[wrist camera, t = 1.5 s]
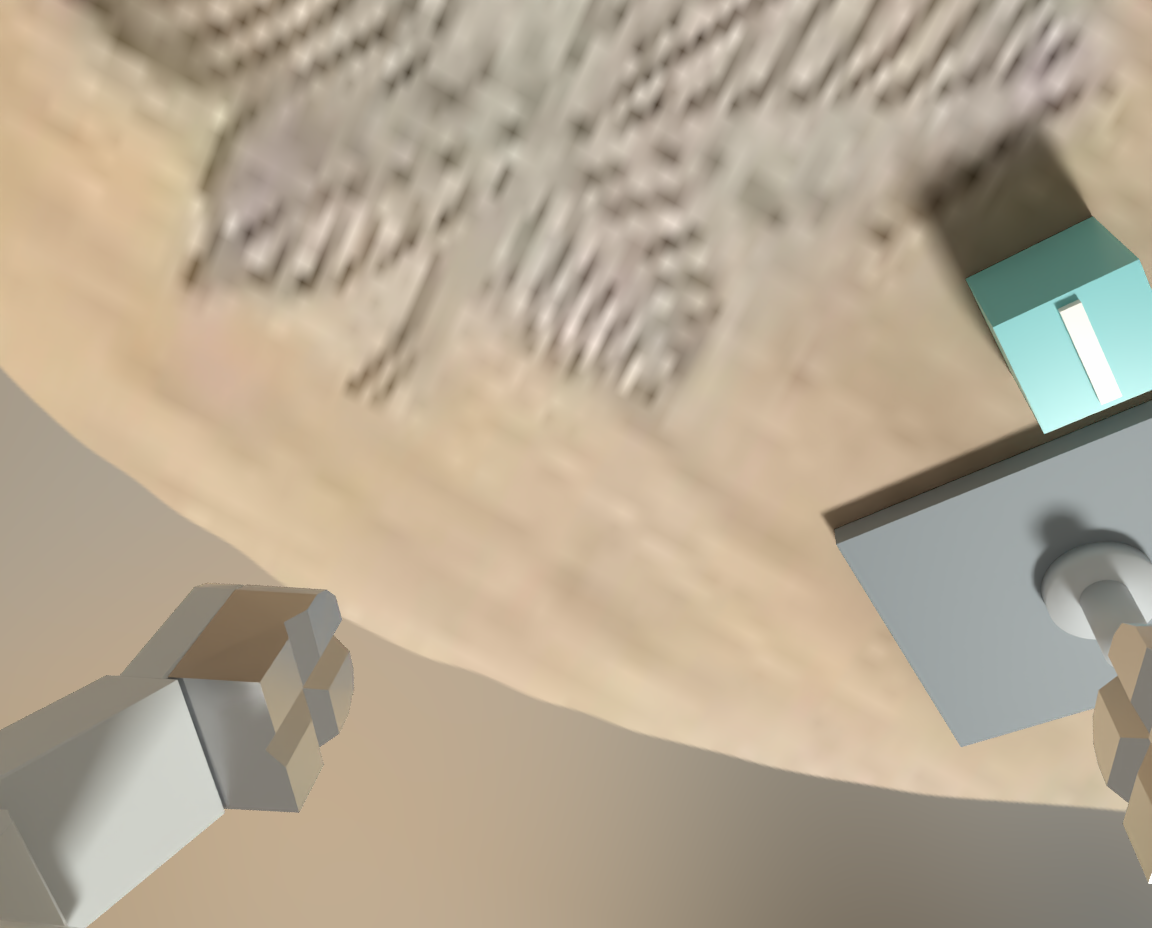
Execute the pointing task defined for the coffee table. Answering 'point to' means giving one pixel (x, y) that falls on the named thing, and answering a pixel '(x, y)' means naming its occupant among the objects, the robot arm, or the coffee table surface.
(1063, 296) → the teal slotted cube
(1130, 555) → the toggle switch board
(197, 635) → the robot arm
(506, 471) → the coffee table surface
